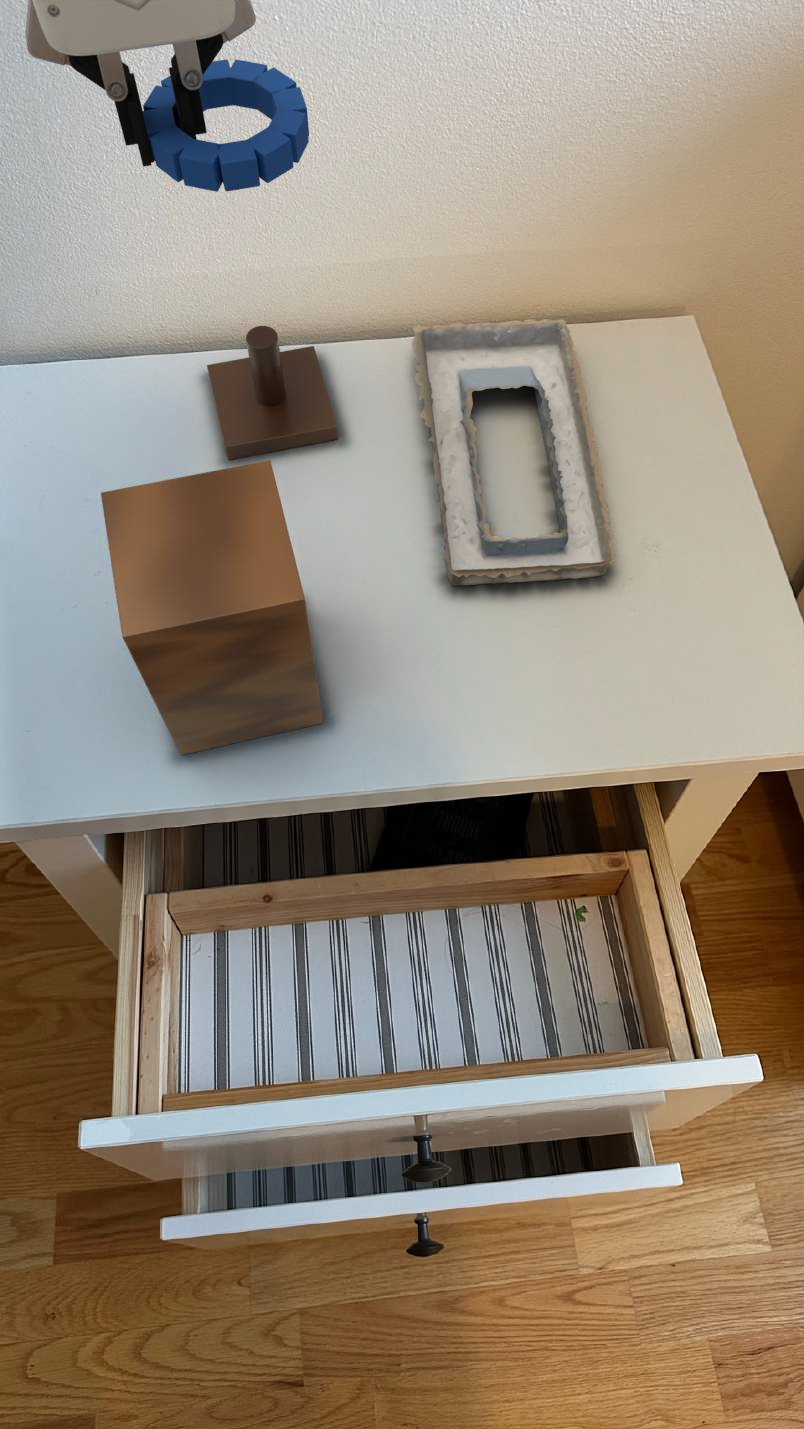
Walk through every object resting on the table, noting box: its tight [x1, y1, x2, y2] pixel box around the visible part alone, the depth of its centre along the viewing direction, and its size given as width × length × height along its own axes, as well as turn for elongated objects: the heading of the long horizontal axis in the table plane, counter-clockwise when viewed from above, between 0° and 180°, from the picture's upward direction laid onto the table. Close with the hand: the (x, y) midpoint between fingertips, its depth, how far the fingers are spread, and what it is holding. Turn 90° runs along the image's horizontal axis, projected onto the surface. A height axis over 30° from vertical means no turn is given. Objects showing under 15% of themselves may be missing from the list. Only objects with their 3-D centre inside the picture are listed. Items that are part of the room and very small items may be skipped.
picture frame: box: [411, 318, 616, 586], centre depth 77 cm, size 13×25×3 cm, turn 6°
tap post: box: [206, 325, 339, 461], centre depth 77 cm, size 9×9×8 cm
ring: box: [142, 59, 310, 193], centre depth 59 cm, size 10×10×2 cm
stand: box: [100, 459, 324, 756], centre depth 62 cm, size 10×10×16 cm
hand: (168, 145), depth 59 cm, fingers closed on ring, 2 cm apart
